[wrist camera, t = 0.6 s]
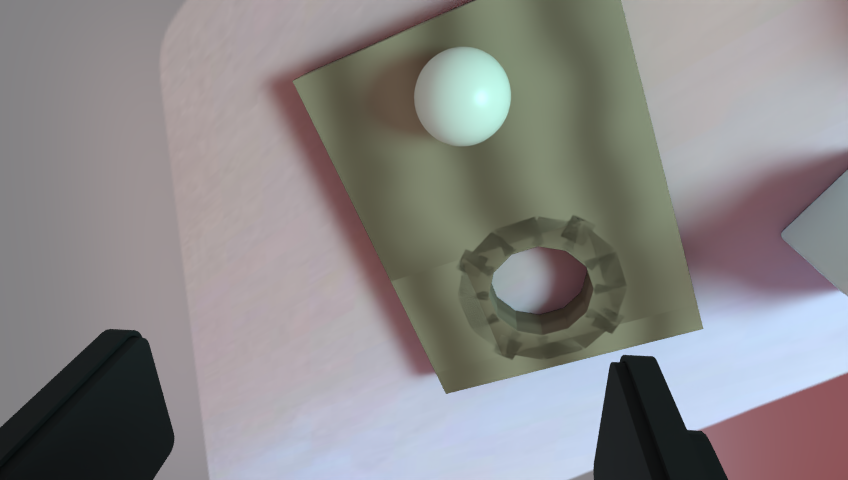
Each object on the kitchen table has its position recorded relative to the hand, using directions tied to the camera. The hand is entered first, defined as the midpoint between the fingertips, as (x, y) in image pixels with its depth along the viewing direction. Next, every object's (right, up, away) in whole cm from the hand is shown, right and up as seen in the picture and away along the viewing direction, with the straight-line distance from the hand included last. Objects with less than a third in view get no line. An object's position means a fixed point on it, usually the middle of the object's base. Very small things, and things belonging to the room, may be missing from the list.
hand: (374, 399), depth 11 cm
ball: (+3, +11, +18) cm, 21 cm away
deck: (+7, +6, +25) cm, 27 cm away
